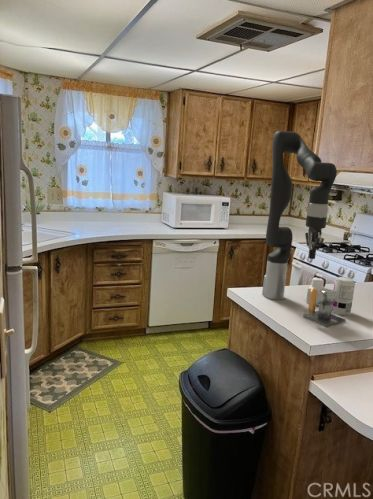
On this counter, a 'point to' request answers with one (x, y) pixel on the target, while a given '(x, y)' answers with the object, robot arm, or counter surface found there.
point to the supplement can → (343, 295)
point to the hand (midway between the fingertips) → (311, 258)
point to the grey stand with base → (325, 316)
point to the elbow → (320, 298)
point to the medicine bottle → (316, 286)
